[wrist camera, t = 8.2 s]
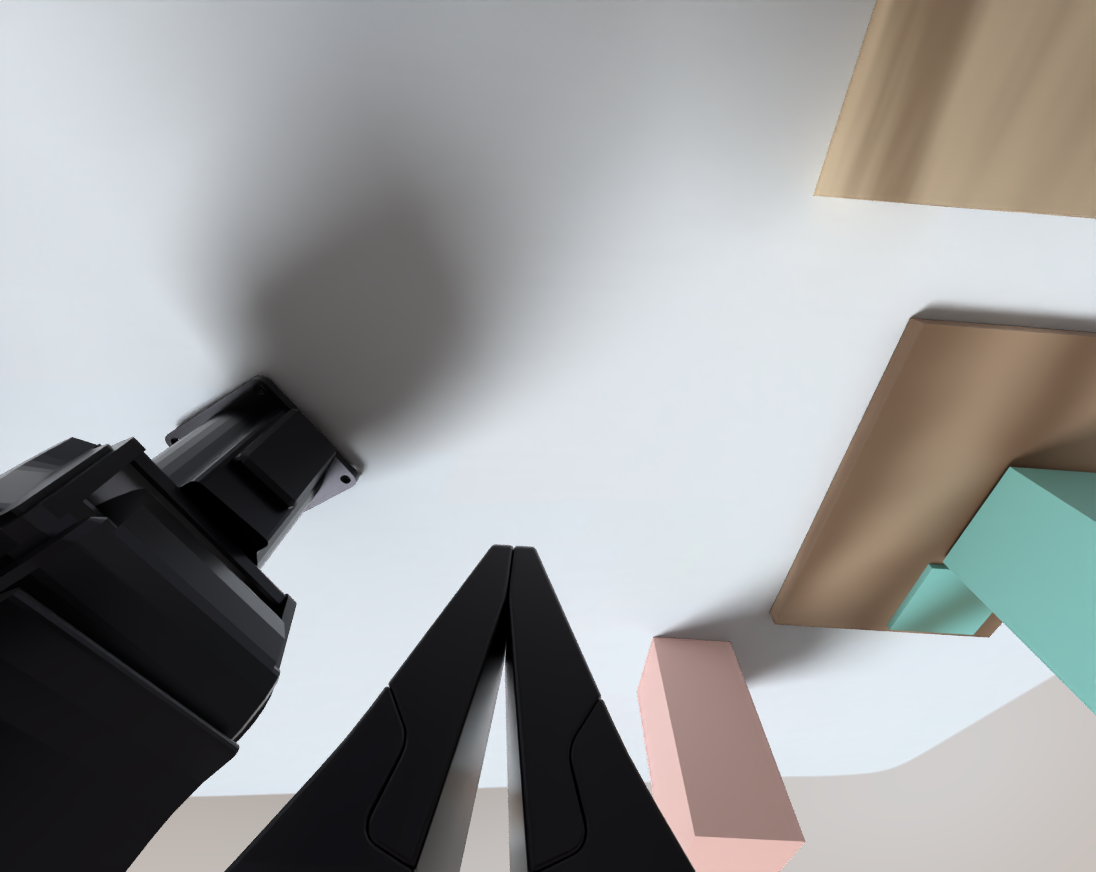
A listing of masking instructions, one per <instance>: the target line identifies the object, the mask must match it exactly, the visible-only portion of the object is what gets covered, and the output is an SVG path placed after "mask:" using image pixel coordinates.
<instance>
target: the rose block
mask: <svg viewBox="0 0 1096 872" xmlns="http://www.w3.org/2000/svg"><path fill="white" fill-rule="evenodd" d="M637 696H638V702H639V709H640V715H641V721H642V728H643V734H644V740H645V747H646V753H647V759H648V766H649V772H650V778H651V784H652V791H653V798H654V801H655V802H656V804H657V806H658V808H659V809H660V811H661V813H662V814H663V816H664V818H665V820H666V821H667V823H668V825H669V826H670V828H671V830H672V831H673V833H674V835H675V837H676V838H677V840H678V842H679V843H680V845H681V847H682V849H683V850H684V852H685V854H686V855H687V857H688V859H689V861H690V862H691V864H692V866H693V867H694V869H695V871H696V872H780V870H781V869H782V868H783V867H784V866H785V865H786V863H787V862H788V861H789V860H790V859H791V858H792V857H793V856H794V854H795V853H796V852H797V851H798V850H799V849H800V847H801V846H802V845H803V844H804V843H805V839H804V837H803V834H802V831H801V829H800V826H799V823H798V821H797V818H796V815H795V813H794V810H793V807H792V805H791V802H790V799H789V797H788V794H787V791H786V789H785V786H784V783H783V781H782V778H781V775H780V773H779V770H778V767H777V764H776V762H775V759H774V756H773V754H772V751H771V748H770V746H769V743H768V740H767V738H766V735H765V732H764V730H763V727H762V724H761V722H760V719H759V716H758V714H757V711H756V708H755V706H754V703H753V700H752V698H751V695H750V692H749V690H748V687H747V684H746V682H745V679H744V676H743V674H742V671H741V668H740V666H739V663H738V660H737V658H736V655H735V652H734V650H733V647H732V644H731V642H726V641H709V640H692V639H676V638H659V637H653V639H652V642H651V646H650V649H649V652H648V656H647V659H646V662H645V666H644V669H643V673H642V676H641V679H640V683H639V686H638V690H637Z"/></svg>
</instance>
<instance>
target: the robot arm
mask: <svg viewBox="0 0 1096 872" xmlns="http://www.w3.org/2000/svg"><path fill="white" fill-rule="evenodd" d="M258 385H261V386H262V387H263V388H264V390H265V391H262V390H261V389H260V388H259V387H258ZM178 439H179V440H178ZM165 441H166V443H167V445H168V446H169V448H167V449H166V450H165V451H163V452H162V453H160V454H159V455H158V456H156V457H155V458H153V459H152V460H151V459H150V458H149V457H148V456H147V455H146V454H145V453H144V451H145V450H146V449H145V448H144V447H143V446H142V445H141V444H140V443H139V442H138V441H137V440H136V439H135V438H134V437H131V438H129V439H127V440H124V441H122V442H119V443H117V444H115V445H112V446H110V445H109V444H105V445H103V446H102V445H101V444H98V445H96V444H92V443H89V442H86V441H83V440H80V439H76V438H73V437H72V438H70V439H67V440H65V441H63V442H60V443H58V444H56V445H54V446H53V447H51V448H49V449H47V450H45V451H43V452H41V453H40V454H38V455H36V456H34V457H32V458H30V459H29V460H27V461H25V462H23V463H21V464H19V465H18V466H16V467H14V468H12V469H10V470H9V471H7V472H5V473H3V474H2V475H0V872H126V870H127V869H128V868H129V867H130V865H131V864H132V863H133V862H134V860H135V859H136V858H137V857H138V855H139V854H140V853H141V851H142V850H143V849H144V847H145V846H146V845H147V843H148V842H149V841H150V840H151V839H152V838H153V836H154V835H155V834H156V833H157V832H158V830H159V829H160V828H161V827H162V825H163V824H164V823H165V822H166V821H167V820H168V818H169V817H170V816H171V815H172V814H173V813H174V812H175V810H176V809H178V807H180V805H181V804H182V803H183V802H184V801H185V800H186V799H187V798H188V797H189V796H190V795H191V794H192V793H193V792H194V791H195V790H196V789H197V788H198V787H199V786H200V785H201V784H202V783H203V782H204V781H206V780H207V779H208V778H209V777H210V776H212V775H213V774H214V773H215V772H216V771H218V770H219V769H220V768H221V767H222V766H224V765H225V764H226V763H227V762H228V761H230V760H231V759H232V758H233V757H234V756H235V755H236V753H237V752H238V750H239V745H238V744H237V743H236V742H237V741H238V740H239V739H240V738H241V737H242V736H243V735H244V734H245V733H246V731H247V730H248V729H249V728H250V727H251V726H252V725H253V723H254V722H255V721H256V719H257V718H258V716H259V715H260V713H261V712H262V711H263V709H264V707H265V706H266V704H267V702H268V700H269V698H270V697H271V694H272V692H273V689H274V687H275V685H276V684H277V682H278V679H279V675H280V670H279V668H280V664H281V661H282V657H283V653H284V649H285V646H286V642H287V638H288V634H289V630H290V627H291V623H292V619H293V615H294V611H295V608H296V602H295V601H294V600H293V599H292V598H291V597H290V596H289V595H288V594H284V593H283V592H282V591H281V590H280V589H279V588H278V587H277V586H276V585H275V584H274V583H273V582H272V581H271V580H270V579H269V578H268V577H267V576H266V575H265V574H264V573H263V572H262V571H261V570H260V569H261V568H262V566H263V565H264V564H265V562H266V561H267V560H268V558H269V557H270V556H271V554H272V553H273V552H274V550H275V549H276V548H277V546H278V545H279V544H280V542H281V541H282V540H283V538H284V537H285V536H286V534H287V533H288V532H289V530H290V529H291V528H292V526H293V525H294V524H295V522H296V521H297V520H298V518H299V517H300V516H301V514H302V513H303V512H305V511H307V510H309V509H311V508H313V507H315V506H316V505H318V504H320V503H322V502H324V501H326V500H328V499H330V498H332V497H334V496H336V495H337V494H339V493H341V492H343V491H345V490H347V489H349V488H351V487H353V486H354V485H355V484H356V482H357V480H358V478H359V475H358V473H357V471H356V470H355V469H354V468H353V467H352V466H351V465H350V464H349V462H348V461H347V460H346V459H345V458H344V457H343V456H342V455H341V454H340V453H339V452H338V451H337V450H336V449H335V448H334V447H333V445H332V444H331V443H330V442H329V441H328V440H327V439H326V438H325V437H324V436H323V435H322V434H321V433H320V432H319V431H318V430H317V428H316V427H315V426H314V425H313V424H312V423H311V422H310V421H309V420H308V419H307V418H306V417H305V416H304V415H303V414H302V413H301V411H300V410H299V409H298V408H297V407H296V406H295V405H294V404H293V403H292V402H291V401H290V400H289V399H288V398H287V397H286V395H285V394H284V393H283V392H282V391H281V390H280V389H279V388H278V387H277V386H276V385H275V384H274V383H273V382H272V381H271V380H270V379H269V378H267V377H265V376H257V377H254V378H253V379H251V380H250V381H248V382H247V383H245V384H244V385H242V386H241V387H239V388H238V389H236V390H235V391H233V392H232V393H230V394H228V395H227V396H225V397H224V398H222V399H221V400H219V401H218V402H216V403H215V404H213V405H212V406H210V407H209V408H207V409H206V410H204V411H203V412H201V413H199V414H198V415H196V416H195V417H193V418H192V419H190V420H189V421H187V422H186V423H184V424H183V425H181V426H180V427H178V428H177V429H175V430H174V431H172V432H171V433H169V434H168V435H167V436H166V437H165ZM344 475H346V476H348V477H349V478H350V479H347V478H346V477H345V476H344ZM505 651H506V655H505ZM504 659H505V688H506V729H507V770H508V809H509V848H510V872H696V871H695V869H694V867H693V866H692V864H691V862H690V861H689V859H688V857H687V855H686V854H685V852H684V850H683V849H682V847H681V845H680V843H679V842H678V840H677V838H676V837H675V835H674V833H673V831H672V830H671V828H670V826H669V825H668V823H667V821H666V820H665V818H664V816H663V814H662V813H661V811H660V809H659V808H658V806H657V804H656V802H655V801H654V799H653V797H652V796H651V794H650V792H649V790H648V789H647V787H646V785H645V783H644V781H643V779H642V778H641V776H640V774H639V772H638V770H637V769H636V767H635V765H634V763H633V761H632V759H631V758H630V756H629V754H628V752H627V750H626V748H625V746H624V744H623V742H622V740H621V737H620V735H619V733H618V731H617V729H616V727H615V725H614V723H613V721H612V719H611V716H610V714H609V712H608V710H607V707H606V705H605V703H604V701H603V700H602V699H601V694H600V692H599V690H598V688H597V685H596V683H595V681H594V679H593V676H592V674H591V672H590V670H589V667H588V665H587V663H586V661H585V658H584V656H583V654H582V652H581V649H580V647H579V645H578V643H577V640H576V638H575V636H574V634H573V631H572V629H571V627H570V625H569V622H568V620H567V618H566V616H565V613H564V611H563V609H562V607H561V604H560V602H559V600H558V598H557V596H556V593H555V591H554V589H553V587H552V584H551V582H550V580H549V578H548V575H547V573H546V571H545V569H544V566H543V564H542V562H541V560H540V557H539V555H538V553H537V551H536V549H535V548H534V547H527V546H516V547H515V548H514V549H513V547H512V546H511V545H497V544H495V545H493V546H492V547H491V548H490V549H489V550H488V552H487V553H486V554H485V556H484V557H483V558H482V560H481V561H480V562H479V564H478V565H477V566H476V567H475V569H474V570H473V571H472V573H471V574H470V575H469V577H468V578H467V579H466V581H465V582H464V583H463V585H462V586H461V587H460V589H459V590H458V591H457V593H456V594H455V595H454V597H453V598H452V599H451V601H450V602H449V603H448V605H447V606H446V607H445V609H444V610H443V611H442V613H441V614H440V615H439V617H438V618H437V619H436V621H435V622H434V623H433V625H432V626H431V627H430V629H429V630H428V631H427V633H426V634H425V635H424V637H423V638H422V639H421V641H420V642H419V643H418V645H417V646H416V647H415V649H414V650H413V651H412V653H411V654H410V655H409V657H408V658H407V659H406V661H405V662H404V663H403V665H402V666H401V667H400V669H399V670H398V671H397V673H396V674H395V675H394V677H393V678H392V679H391V681H390V682H389V687H385V688H384V690H383V691H382V692H381V694H380V695H379V696H378V698H377V699H376V700H375V702H374V703H373V704H372V706H371V707H370V708H369V709H368V711H367V712H366V713H365V714H364V716H363V717H362V718H361V719H360V721H359V722H358V723H357V724H356V726H355V727H354V728H353V730H352V731H351V732H350V733H349V735H348V736H347V737H346V738H345V739H344V741H343V742H342V743H341V744H340V745H339V746H338V747H337V749H336V750H335V751H334V752H333V753H332V754H331V755H330V757H329V758H328V759H327V760H326V761H325V762H324V763H323V764H322V766H321V767H320V768H319V769H318V770H317V771H316V772H315V774H314V775H313V776H312V777H311V778H310V779H309V780H308V781H307V782H306V783H305V784H304V786H303V787H302V788H301V789H300V790H299V791H298V792H297V793H296V794H295V795H294V796H293V798H292V799H291V800H290V801H289V802H288V803H287V804H286V805H285V806H284V807H283V808H282V810H281V811H280V812H279V813H278V814H277V815H276V816H275V817H274V818H273V819H272V821H271V822H270V823H269V824H268V825H267V826H266V827H265V828H264V829H263V830H262V831H261V833H260V834H259V835H258V836H257V837H256V838H255V839H254V840H253V841H252V842H251V844H250V845H249V846H248V847H247V848H246V849H245V850H244V851H243V852H242V853H241V854H240V856H239V857H238V858H237V859H236V860H235V861H234V862H233V863H232V864H231V865H230V866H229V867H228V868H227V869H226V870H225V872H460V867H461V862H462V858H463V853H464V848H465V844H466V839H467V834H468V829H469V825H470V820H471V815H472V811H473V806H474V802H475V797H476V792H477V788H478V783H479V778H480V774H481V769H482V764H483V760H484V755H485V750H486V746H487V741H488V736H489V732H490V727H491V722H492V718H493V713H494V708H495V704H496V699H497V694H498V690H499V685H500V680H501V676H502V670H503V665H504Z"/></svg>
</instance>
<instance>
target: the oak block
mask: <svg viewBox="0 0 1096 872" xmlns="http://www.w3.org/2000/svg"><path fill="white" fill-rule="evenodd" d="M813 196H825V197H836V198H848V199H860V200H872V201H884V202H896V203H908V204H920V205H932V206H944V207H957V208H969V209H982V210H995V211H1007V212H1020V213H1033V214H1045V215H1058V216H1071V217H1084V218H1096V0H876V4H875V7H874V10H873V13H872V16H871V19H870V22H869V25H868V28H867V31H866V34H865V38H864V41H863V44H862V47H861V50H860V53H859V56H858V59H857V62H856V65H855V68H854V71H853V75H852V78H851V81H850V84H849V87H848V90H847V93H846V96H845V99H844V102H843V105H842V109H841V112H840V115H839V118H838V121H837V124H836V127H835V130H834V133H833V136H832V139H831V143H830V146H829V149H828V152H827V155H826V158H825V161H824V164H823V167H822V170H821V173H820V177H819V180H818V183H817V186H816V189H815V192H814V195H813Z"/></svg>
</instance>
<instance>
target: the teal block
mask: <svg viewBox="0 0 1096 872" xmlns="http://www.w3.org/2000/svg"><path fill="white" fill-rule="evenodd" d="M943 563H944V564H945V565H946V566H947V567H948V568H949V569H950V570H951V571H952V572H953V573H954V574H955V575H956V576H957V577H958V578H959V579H960V580H961V581H962V582H963V583H964V584H965V585H966V586H967V587H968V588H969V589H970V590H971V591H972V592H973V593H974V594H975V595H976V596H977V597H978V598H979V599H980V600H981V601H982V602H983V603H984V604H985V605H986V606H987V607H988V608H989V609H990V610H991V611H992V612H993V613H994V614H995V615H996V616H997V617H998V618H999V619H1000V620H1001V621H1002V622H1003V623H1004V624H1005V625H1006V626H1007V627H1008V628H1009V629H1010V630H1011V631H1012V632H1013V633H1014V634H1015V635H1016V636H1017V637H1018V638H1019V639H1020V640H1021V641H1022V642H1023V643H1024V644H1025V645H1026V646H1027V647H1028V648H1029V649H1030V650H1031V651H1032V652H1033V653H1034V654H1035V655H1036V656H1037V657H1038V658H1039V659H1040V660H1041V661H1042V662H1043V663H1044V664H1045V665H1046V666H1047V667H1048V668H1049V669H1050V670H1051V671H1052V672H1053V673H1054V674H1055V675H1056V676H1057V677H1058V678H1059V679H1060V680H1061V681H1062V682H1063V683H1064V684H1065V685H1066V686H1067V687H1068V688H1069V689H1070V690H1071V691H1072V692H1073V693H1074V694H1075V695H1076V696H1077V697H1078V698H1079V699H1080V700H1081V701H1082V702H1083V703H1084V704H1085V705H1086V706H1087V707H1088V708H1089V709H1090V710H1091V711H1092V712H1093V713H1094V714H1095V715H1096V473H1090V472H1076V471H1062V470H1048V469H1034V468H1019V467H1009V468H1008V470H1007V471H1006V473H1005V474H1004V476H1003V477H1002V478H1001V480H1000V481H999V483H998V484H997V485H996V487H995V488H994V490H993V491H992V493H991V494H990V495H989V497H988V498H987V500H986V501H985V502H984V504H983V505H982V507H981V508H980V510H979V511H978V512H977V514H976V515H975V517H974V518H973V519H972V521H971V522H970V524H969V525H968V527H967V528H966V529H965V531H964V532H963V534H962V535H961V536H960V538H959V539H958V541H957V542H956V544H955V545H954V546H953V548H952V549H951V551H950V552H949V553H948V555H947V556H946V558H945V559H944V561H943Z"/></svg>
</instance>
